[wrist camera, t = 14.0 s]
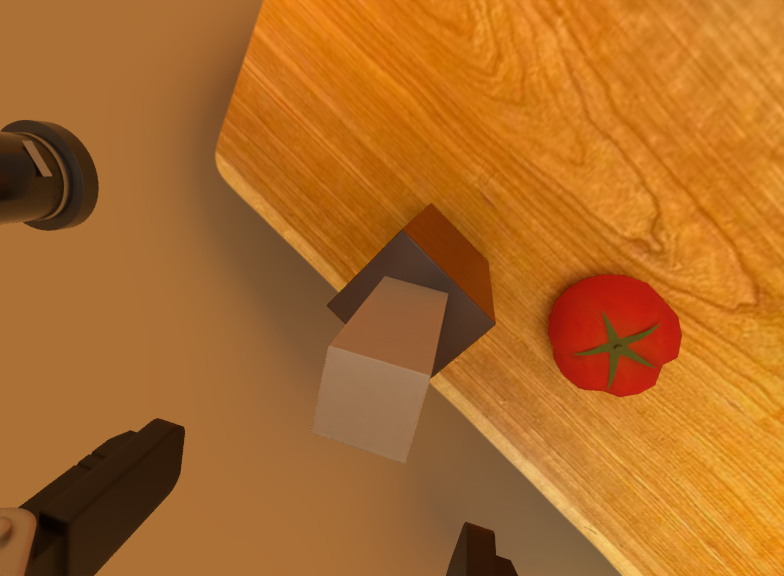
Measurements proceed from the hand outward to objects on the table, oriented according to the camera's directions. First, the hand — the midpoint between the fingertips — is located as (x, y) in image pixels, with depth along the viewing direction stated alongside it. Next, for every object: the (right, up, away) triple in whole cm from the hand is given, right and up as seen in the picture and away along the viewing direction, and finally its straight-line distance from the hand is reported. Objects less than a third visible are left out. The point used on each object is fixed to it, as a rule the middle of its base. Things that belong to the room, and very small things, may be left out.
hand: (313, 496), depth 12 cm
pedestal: (+6, +9, +33) cm, 34 cm away
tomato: (+22, +2, +32) cm, 39 cm away
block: (+3, +4, +16) cm, 16 cm away
